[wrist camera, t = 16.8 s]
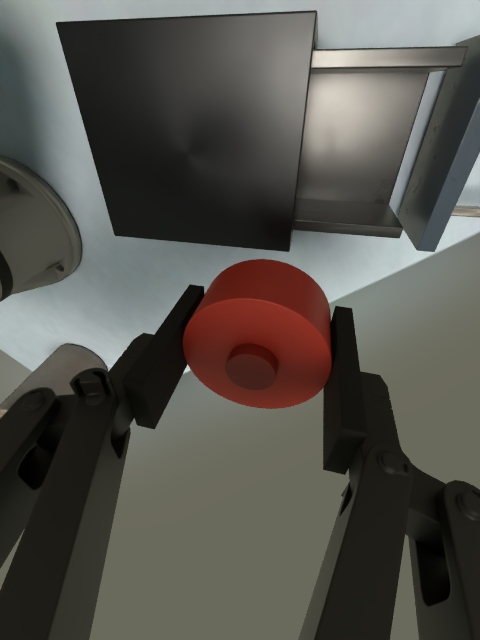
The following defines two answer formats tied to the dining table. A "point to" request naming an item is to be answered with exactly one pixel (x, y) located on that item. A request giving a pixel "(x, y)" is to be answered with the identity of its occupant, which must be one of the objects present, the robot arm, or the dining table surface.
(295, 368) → the lid
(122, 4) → the dining table surface
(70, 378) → the pillar candle
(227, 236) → the black drawer cabinet
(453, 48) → the pull-out drawer box
